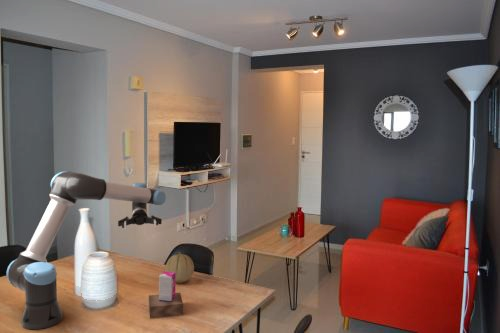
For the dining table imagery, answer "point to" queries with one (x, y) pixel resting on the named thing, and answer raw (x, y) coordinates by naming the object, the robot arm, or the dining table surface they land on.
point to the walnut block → (165, 306)
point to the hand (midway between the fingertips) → (140, 226)
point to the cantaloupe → (180, 267)
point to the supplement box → (167, 286)
